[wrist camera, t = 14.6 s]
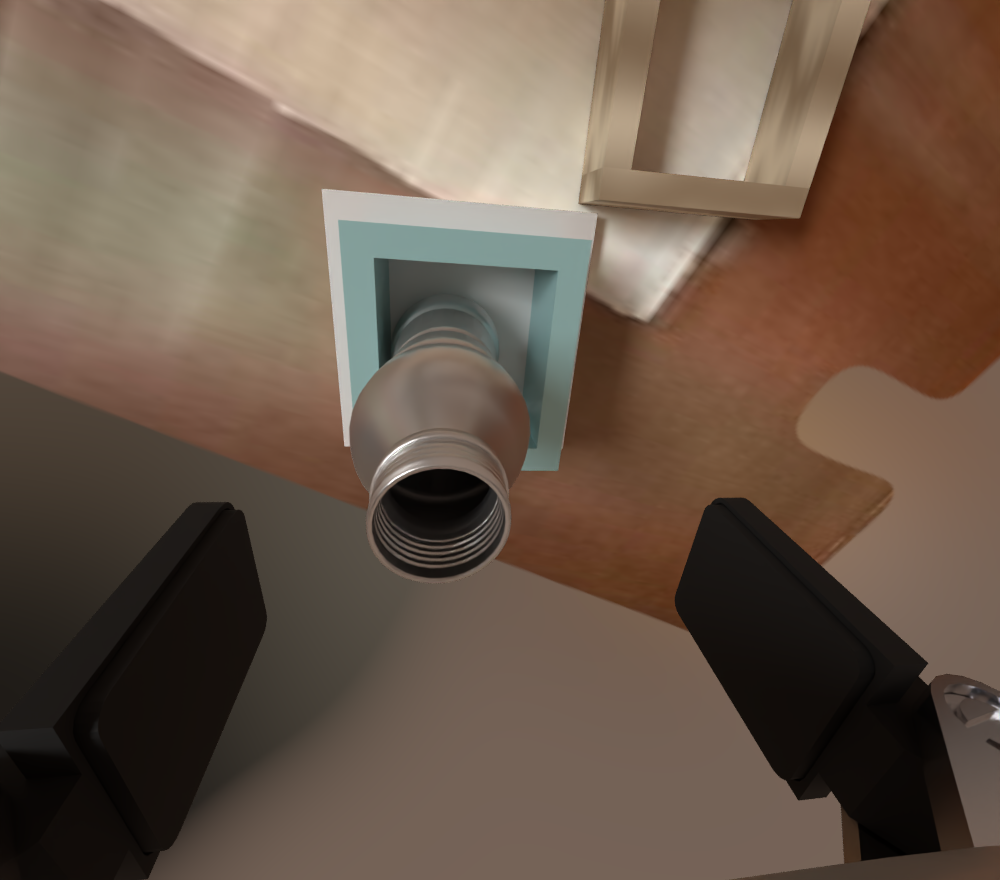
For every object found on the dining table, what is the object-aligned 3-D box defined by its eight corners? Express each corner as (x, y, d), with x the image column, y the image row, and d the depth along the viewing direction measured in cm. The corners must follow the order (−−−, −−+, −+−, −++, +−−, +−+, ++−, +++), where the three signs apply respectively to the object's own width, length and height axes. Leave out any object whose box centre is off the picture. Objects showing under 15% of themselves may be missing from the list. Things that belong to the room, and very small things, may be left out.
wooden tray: (617, -96, 21) (652, -162, 18) (834, -55, 23) (906, -108, 19) (578, 203, 27) (599, 199, 23) (755, 219, 29) (799, 218, 25)
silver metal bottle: (515, 324, 29) (624, 482, 11) (460, 406, 31) (476, 653, 13) (428, 266, 27) (387, 340, 9) (376, 358, 29) (256, 571, 11)
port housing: (326, 190, 25) (286, 177, 19) (592, 213, 27) (637, 209, 21) (347, 440, 32) (323, 491, 26) (559, 443, 34) (585, 491, 28)
